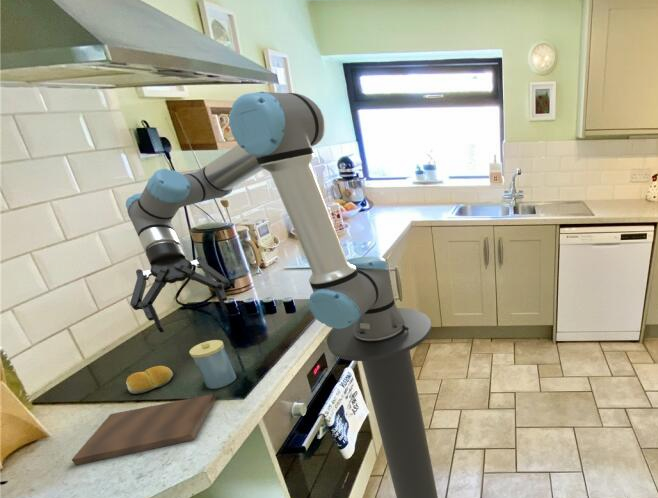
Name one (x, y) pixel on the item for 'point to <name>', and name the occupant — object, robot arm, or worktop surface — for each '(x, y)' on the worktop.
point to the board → (146, 429)
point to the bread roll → (148, 379)
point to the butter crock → (213, 363)
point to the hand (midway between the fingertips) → (194, 320)
